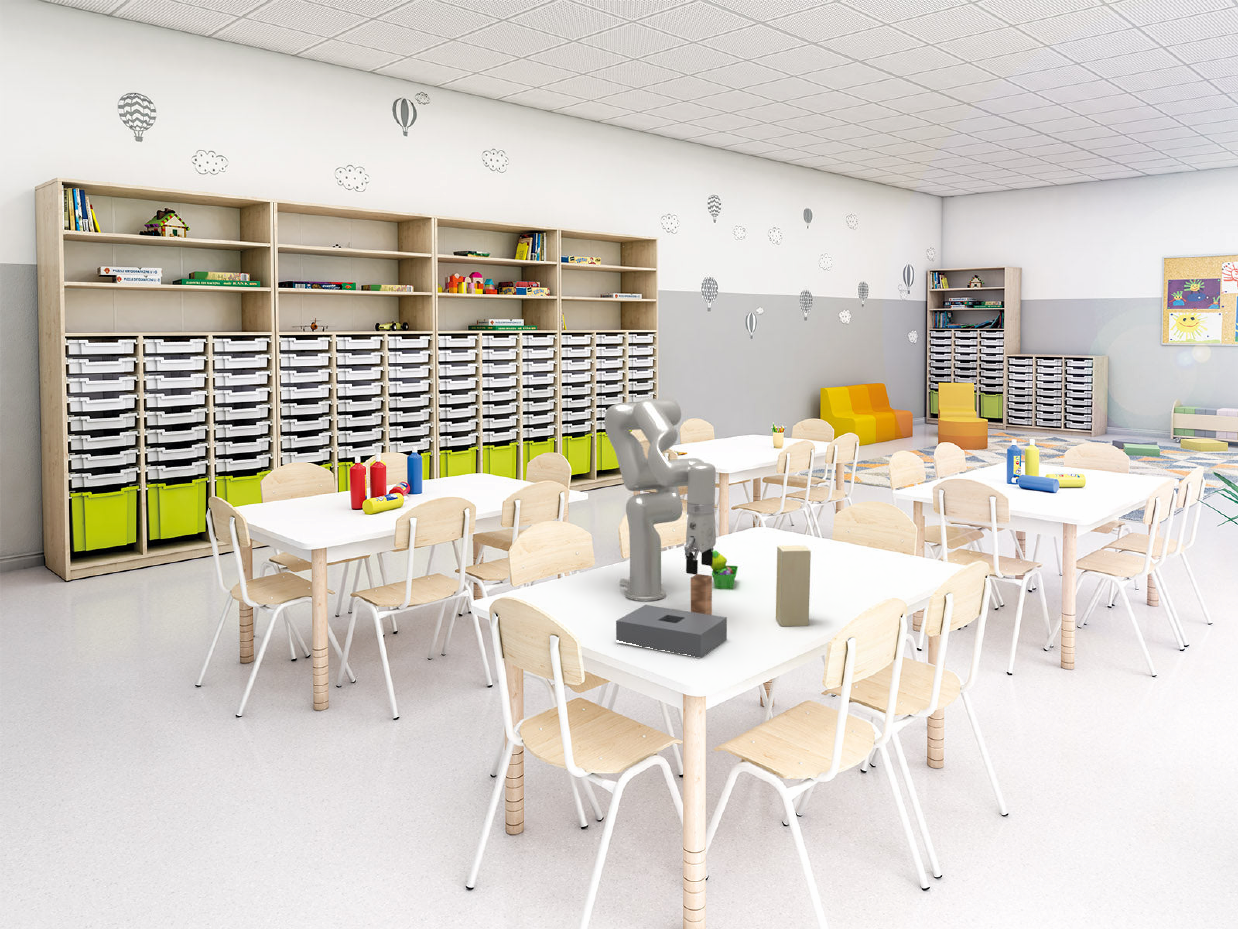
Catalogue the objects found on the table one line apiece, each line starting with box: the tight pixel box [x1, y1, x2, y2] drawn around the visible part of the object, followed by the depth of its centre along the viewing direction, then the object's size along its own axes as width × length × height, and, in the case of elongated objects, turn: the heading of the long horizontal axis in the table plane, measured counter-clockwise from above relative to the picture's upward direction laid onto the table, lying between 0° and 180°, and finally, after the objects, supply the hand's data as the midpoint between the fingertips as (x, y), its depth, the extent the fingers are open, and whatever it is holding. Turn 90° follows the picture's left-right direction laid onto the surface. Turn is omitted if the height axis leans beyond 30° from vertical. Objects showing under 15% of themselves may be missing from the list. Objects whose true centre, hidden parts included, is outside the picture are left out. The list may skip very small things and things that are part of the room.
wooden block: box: [690, 573, 713, 615], centre depth 253 cm, size 4×4×13 cm
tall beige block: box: [775, 545, 812, 627], centre depth 252 cm, size 8×7×21 cm
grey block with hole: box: [615, 604, 728, 658], centre depth 238 cm, size 24×16×6 cm, turn 60°
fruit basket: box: [710, 550, 739, 590], centre depth 291 cm, size 11×9×11 cm
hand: (699, 569), depth 253 cm, fingers open, 9 cm apart
